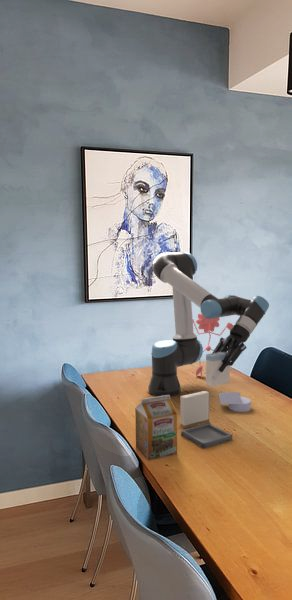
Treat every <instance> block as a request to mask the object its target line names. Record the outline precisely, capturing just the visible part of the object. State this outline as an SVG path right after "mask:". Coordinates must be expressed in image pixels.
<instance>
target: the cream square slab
mask: <svg viewBox="0 0 292 600" xmlns="http://www.w3.org/2000/svg"><path fill="white" fill-rule="evenodd" d="M210 398H211V397H210V391H207V390H202V391H198V392H194V393H189V394H185V395H180V422H179V424H180V425H179V427H180V428H182V429H183V430H185V429H189V428H193V427H196V426H200V425H204V424H207V423H210Z"/></svg>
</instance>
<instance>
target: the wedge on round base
mask: <svg viewBox="0 0 292 600" xmlns="http://www.w3.org/2000/svg"><path fill="white" fill-rule="evenodd" d="M218 399H219V400H218V401H219V403H220V404H221V405H223V404H226V405H228V408H229V409H230V410H231V411H233V412H237V413H239V412H240V413H241V412H243V413H244V412H248V411H251V409H252V408H251V407H252V406H251V405H252V404H251V402H252V400H251V399H250V398H248V397H244V396H241V392H237V391H236V392H235V391H234V392H227V391H226V392H222V391H221V392H219V394H218Z"/></svg>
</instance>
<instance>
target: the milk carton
mask: <svg viewBox="0 0 292 600" xmlns="http://www.w3.org/2000/svg"><path fill="white" fill-rule="evenodd" d="M140 401H141V402H140V403H139V404H137V405H136V407H135V411H134V412H135V448H136V449H137V450H138V452H140V454H141V455H142V456H143V457H144V458H145V459H146V460H147V461H152V460H157V459H158V460H159V459H163V458H166V457H171V456H177V455H178V413H177V409H176V408H175V406H174V403H173V401H172V399H171V396H170V395H164V396H153V397H151V396H150V397H147V398H145V397H144V398H142V399H141V400H140Z"/></svg>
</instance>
